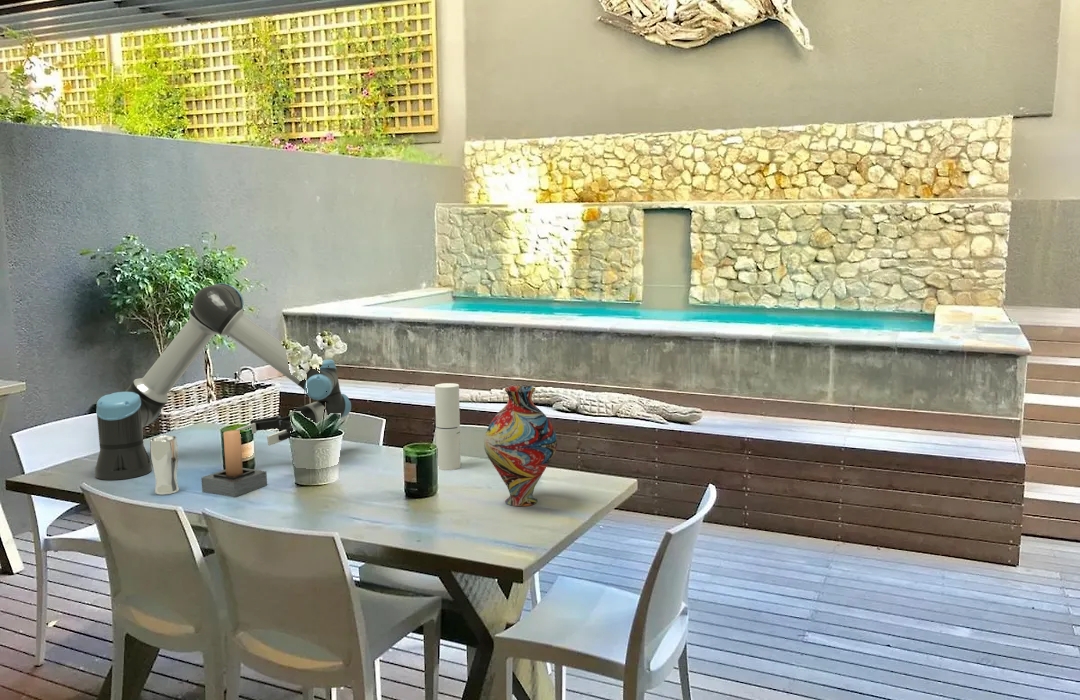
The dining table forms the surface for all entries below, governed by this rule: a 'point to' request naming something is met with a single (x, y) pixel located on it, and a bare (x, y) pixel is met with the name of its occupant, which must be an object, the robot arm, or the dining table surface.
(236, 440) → the terracotta peg
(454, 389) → the cylindrical container
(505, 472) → the vase
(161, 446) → the beer glass
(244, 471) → the collar block
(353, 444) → the dining table surface
